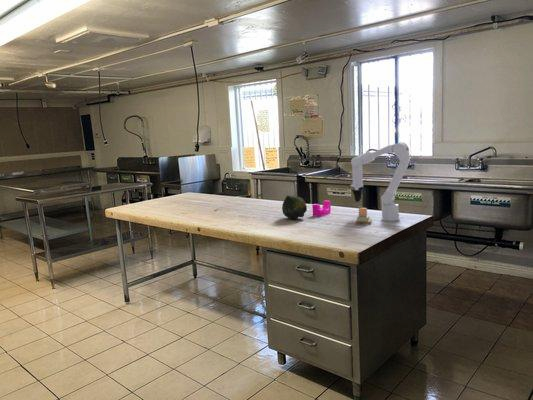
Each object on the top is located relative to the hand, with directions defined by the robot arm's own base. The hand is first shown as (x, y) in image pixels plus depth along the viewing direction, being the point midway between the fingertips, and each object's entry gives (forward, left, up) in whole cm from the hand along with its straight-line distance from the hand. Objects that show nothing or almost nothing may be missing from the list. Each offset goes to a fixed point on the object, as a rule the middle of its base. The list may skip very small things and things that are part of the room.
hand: (358, 200), depth 246 cm
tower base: (-4, +13, -11) cm, 18 cm away
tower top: (-4, +13, -9) cm, 16 cm away
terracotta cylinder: (-4, +13, -7) cm, 15 cm away
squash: (+38, +4, -11) cm, 40 cm away
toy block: (+23, -10, -11) cm, 27 cm away
